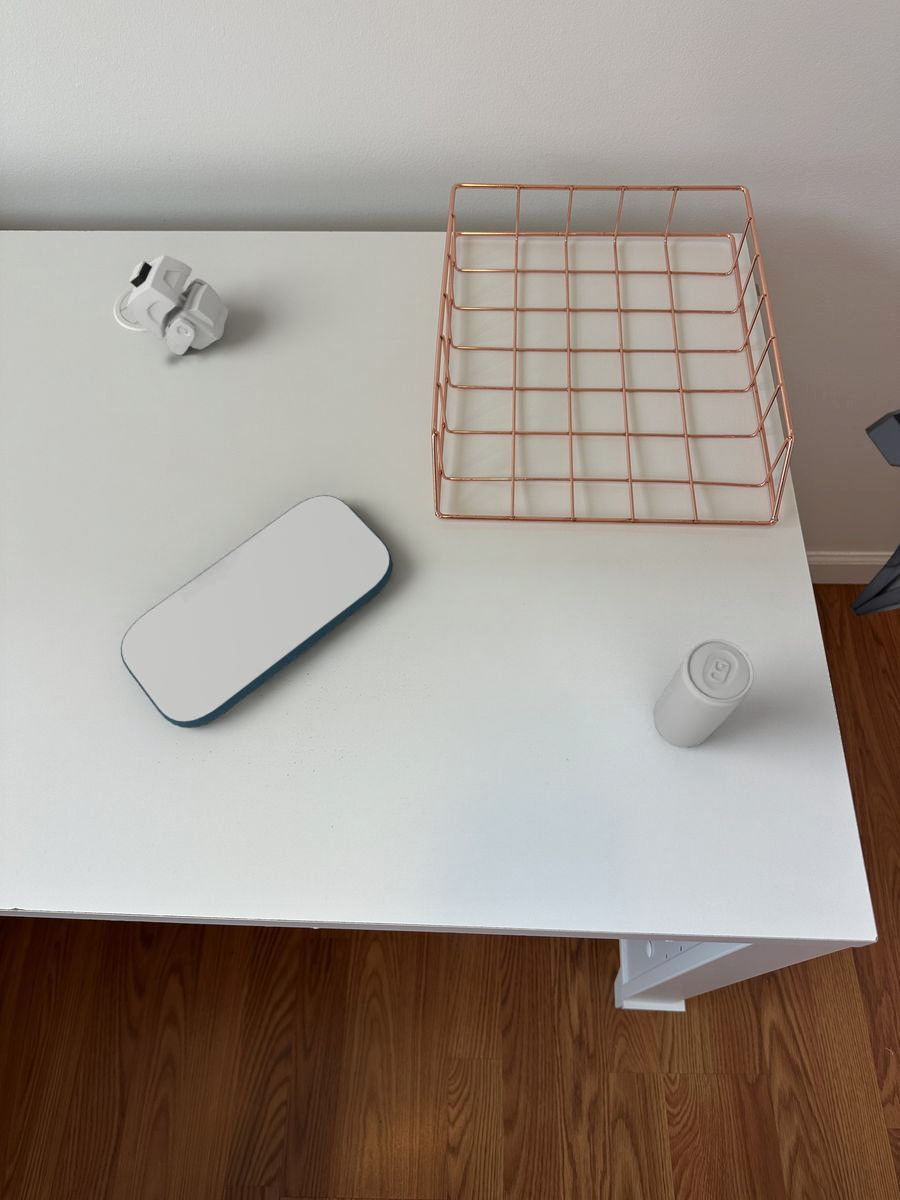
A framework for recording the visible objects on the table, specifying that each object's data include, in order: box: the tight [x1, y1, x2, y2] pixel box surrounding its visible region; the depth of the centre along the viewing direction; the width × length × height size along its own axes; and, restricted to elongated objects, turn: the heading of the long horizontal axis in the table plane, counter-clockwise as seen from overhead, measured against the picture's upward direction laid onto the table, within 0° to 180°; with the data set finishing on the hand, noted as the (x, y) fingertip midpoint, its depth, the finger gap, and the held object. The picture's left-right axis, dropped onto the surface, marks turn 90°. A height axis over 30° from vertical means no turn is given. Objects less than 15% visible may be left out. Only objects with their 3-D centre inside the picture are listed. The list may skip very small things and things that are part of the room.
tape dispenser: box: [126, 254, 230, 356], centre depth 83 cm, size 6×7×10 cm
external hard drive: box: [120, 494, 394, 729], centre depth 72 cm, size 24×12×2 cm, turn 131°
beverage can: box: [653, 638, 754, 748], centre depth 62 cm, size 5×5×12 cm
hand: (854, 611), depth 57 cm, fingers closed
